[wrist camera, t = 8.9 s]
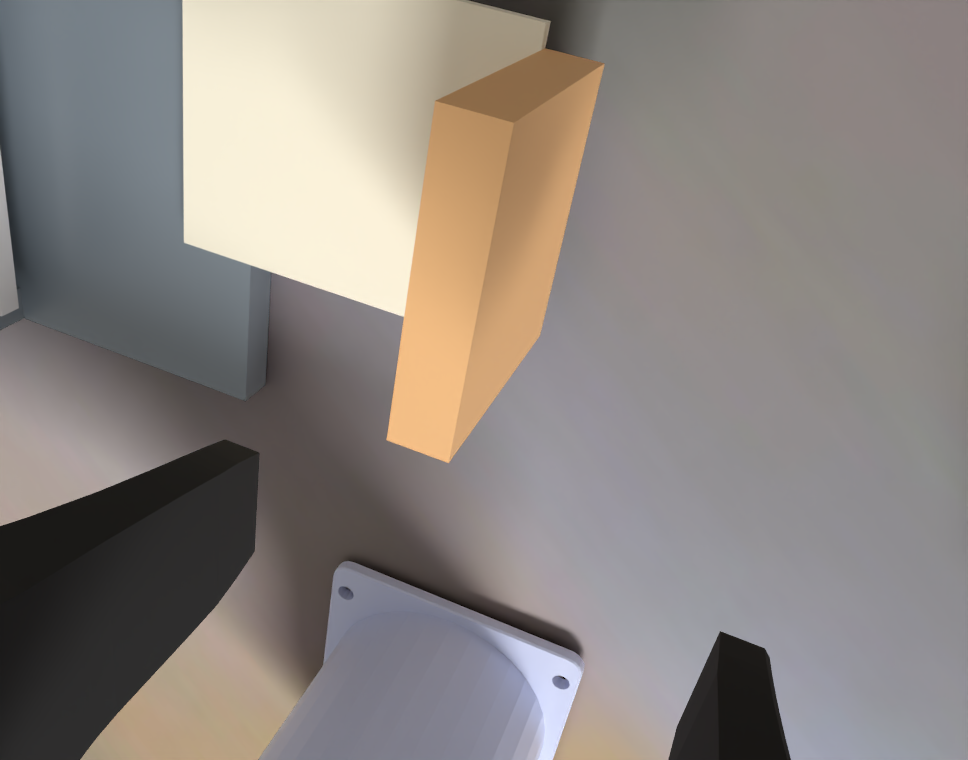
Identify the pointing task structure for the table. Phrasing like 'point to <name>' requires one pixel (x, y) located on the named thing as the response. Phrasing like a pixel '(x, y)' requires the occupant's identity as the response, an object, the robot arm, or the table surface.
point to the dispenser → (114, 195)
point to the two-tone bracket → (392, 174)
